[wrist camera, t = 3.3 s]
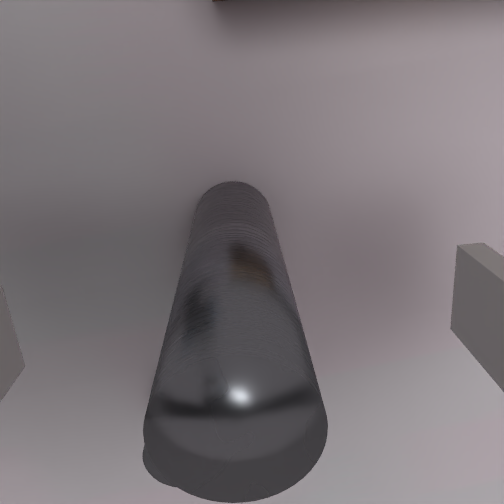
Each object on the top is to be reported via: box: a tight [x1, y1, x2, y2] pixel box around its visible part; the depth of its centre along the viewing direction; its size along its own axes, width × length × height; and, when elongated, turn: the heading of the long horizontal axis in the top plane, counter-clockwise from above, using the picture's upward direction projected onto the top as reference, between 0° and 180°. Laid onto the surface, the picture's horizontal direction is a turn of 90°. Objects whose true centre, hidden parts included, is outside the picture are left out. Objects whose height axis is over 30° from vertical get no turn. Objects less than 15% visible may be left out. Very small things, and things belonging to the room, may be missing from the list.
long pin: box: [143, 182, 328, 503], centre depth 16 cm, size 4×4×14 cm
